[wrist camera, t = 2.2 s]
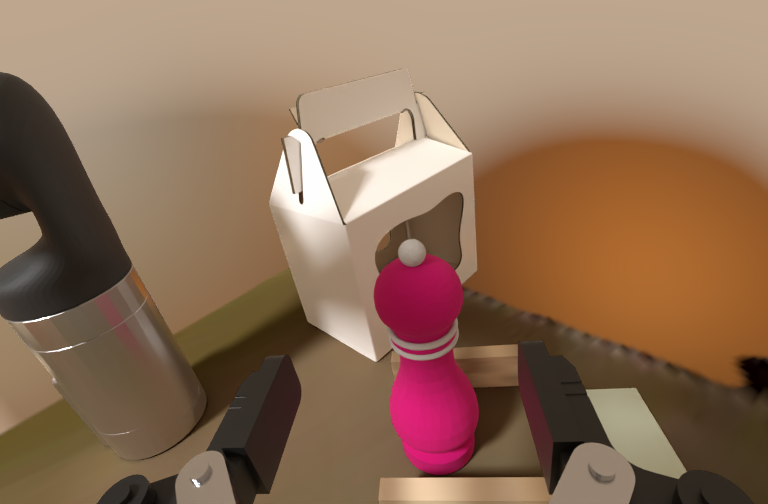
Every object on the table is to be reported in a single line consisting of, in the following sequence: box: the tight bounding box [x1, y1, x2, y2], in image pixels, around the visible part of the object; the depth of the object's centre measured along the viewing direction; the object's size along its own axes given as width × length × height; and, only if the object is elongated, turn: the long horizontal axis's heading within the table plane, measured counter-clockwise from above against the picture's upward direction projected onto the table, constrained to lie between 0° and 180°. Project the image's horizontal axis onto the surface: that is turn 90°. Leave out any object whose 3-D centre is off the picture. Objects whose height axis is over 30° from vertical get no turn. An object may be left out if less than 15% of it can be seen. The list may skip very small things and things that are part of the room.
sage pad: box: [586, 388, 687, 479], centre depth 31 cm, size 8×9×1 cm
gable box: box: [269, 69, 477, 362], centre depth 46 cm, size 22×13×28 cm, turn 137°
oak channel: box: [378, 344, 552, 504], centre depth 32 cm, size 14×14×4 cm
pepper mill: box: [374, 239, 479, 475], centre depth 28 cm, size 7×7×20 cm
